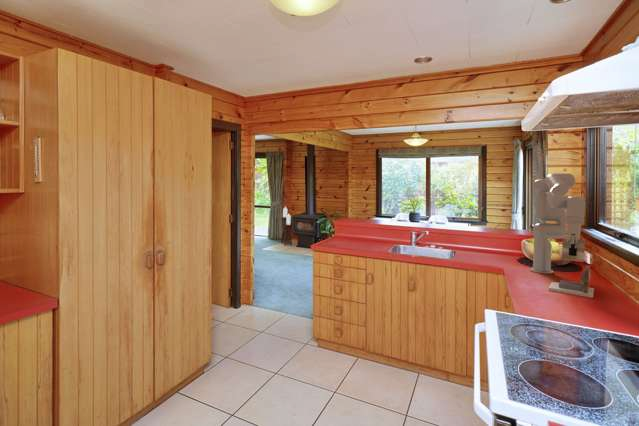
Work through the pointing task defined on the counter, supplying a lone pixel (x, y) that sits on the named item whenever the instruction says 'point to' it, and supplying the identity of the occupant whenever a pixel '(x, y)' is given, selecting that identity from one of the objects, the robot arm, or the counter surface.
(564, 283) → the white tile with rails
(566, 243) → the beige rectangular block
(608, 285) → the counter surface
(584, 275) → the cabinet side
